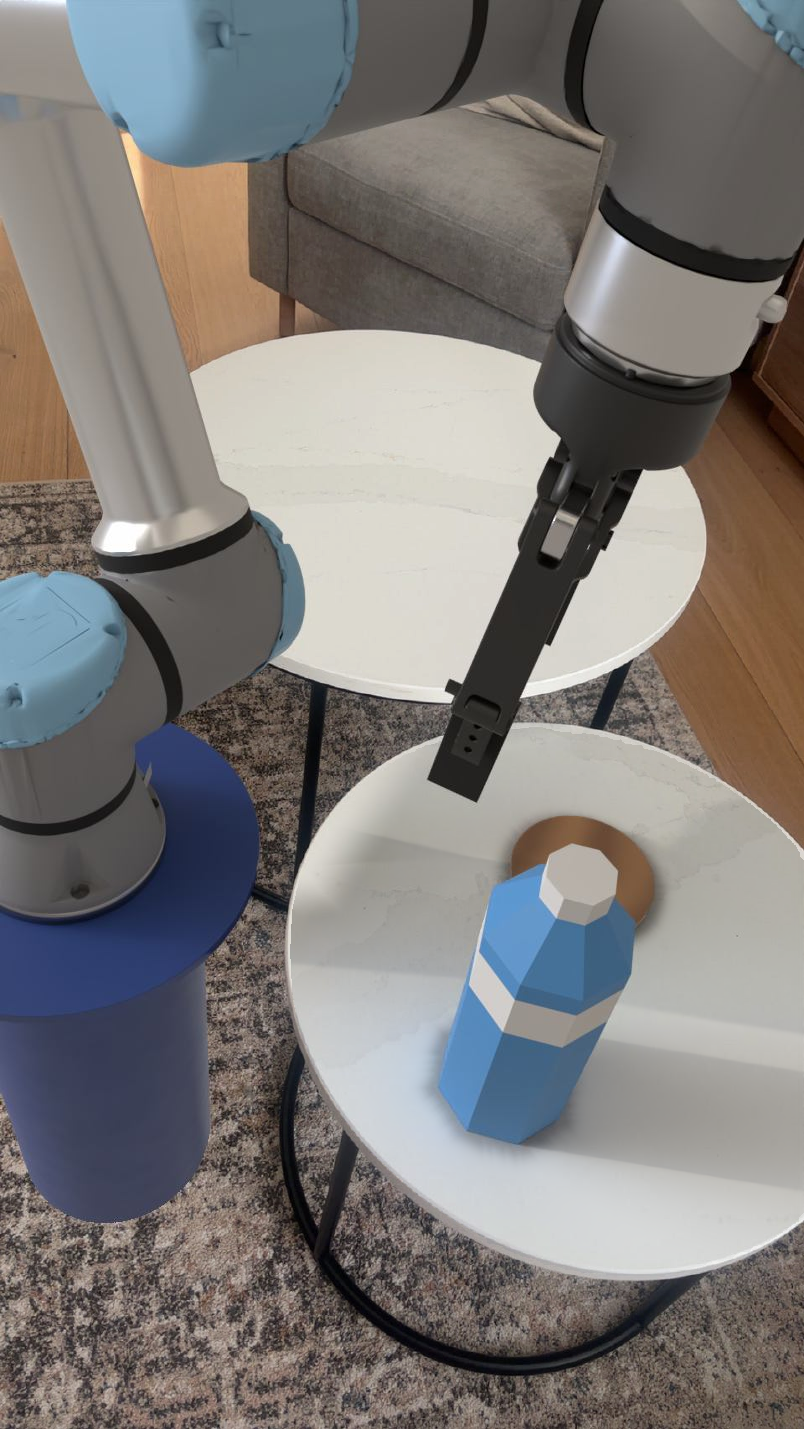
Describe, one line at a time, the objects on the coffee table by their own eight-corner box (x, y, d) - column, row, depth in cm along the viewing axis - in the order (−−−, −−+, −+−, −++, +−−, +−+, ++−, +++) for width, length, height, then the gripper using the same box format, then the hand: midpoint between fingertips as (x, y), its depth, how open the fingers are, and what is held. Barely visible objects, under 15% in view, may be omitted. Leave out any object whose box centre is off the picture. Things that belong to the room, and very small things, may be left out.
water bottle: (547, 1013, 82) (635, 802, 64) (582, 1135, 75) (691, 939, 57) (425, 1026, 80) (481, 812, 62) (451, 1152, 73) (521, 955, 56)
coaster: (488, 904, 88) (490, 897, 87) (535, 803, 96) (537, 795, 95) (630, 965, 85) (634, 958, 85) (666, 855, 93) (669, 848, 93)
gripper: (680, 528, 34) (488, 903, 49) (774, 275, 52) (612, 607, 67) (464, 436, 35) (339, 832, 50) (628, 217, 53) (500, 558, 68)
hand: (495, 704), depth 58 cm, fingers open, 13 cm apart
